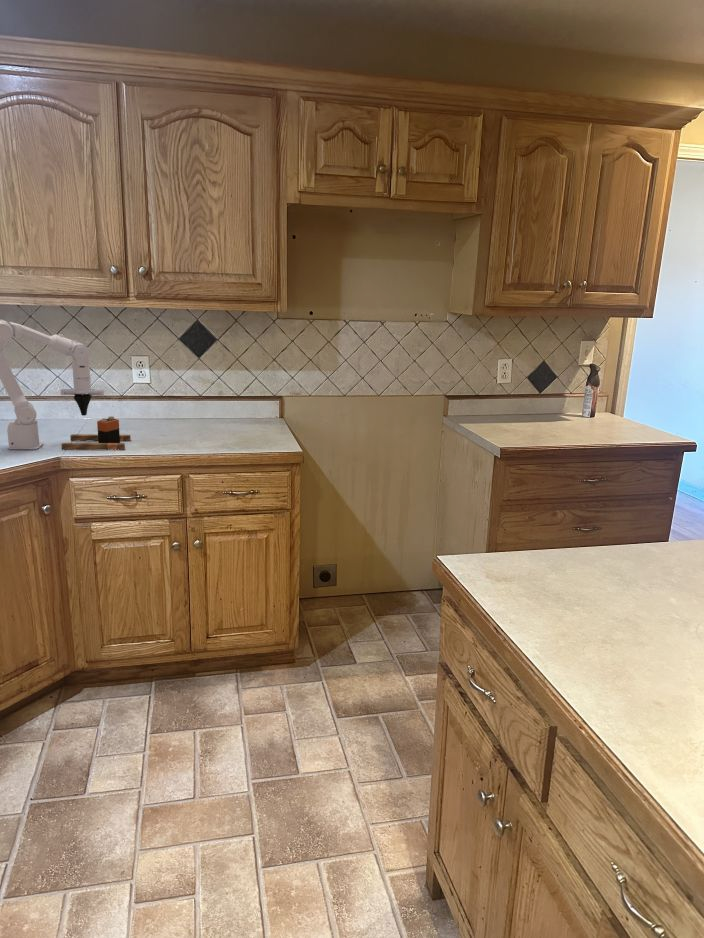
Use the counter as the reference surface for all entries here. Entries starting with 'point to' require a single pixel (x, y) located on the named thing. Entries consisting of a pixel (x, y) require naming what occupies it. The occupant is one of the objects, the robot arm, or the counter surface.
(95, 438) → the guide channel
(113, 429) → the battery
